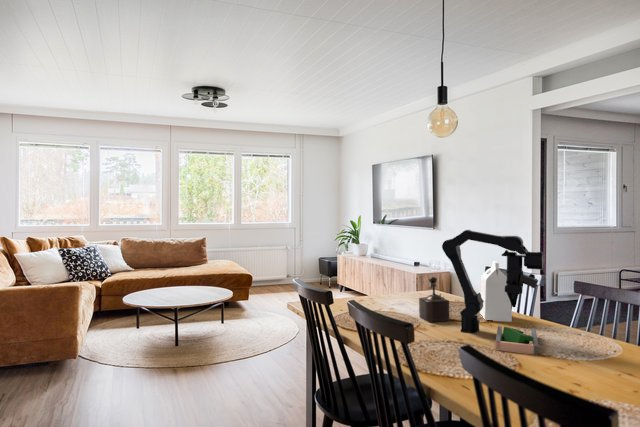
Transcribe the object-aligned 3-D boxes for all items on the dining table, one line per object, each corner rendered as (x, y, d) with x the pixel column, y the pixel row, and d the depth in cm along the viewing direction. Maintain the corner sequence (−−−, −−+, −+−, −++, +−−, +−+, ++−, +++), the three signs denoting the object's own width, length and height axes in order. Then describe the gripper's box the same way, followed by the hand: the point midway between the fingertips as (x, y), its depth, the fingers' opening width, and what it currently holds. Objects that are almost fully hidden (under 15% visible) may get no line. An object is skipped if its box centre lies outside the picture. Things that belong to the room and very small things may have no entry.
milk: (511, 321, 204) (512, 263, 204) (484, 320, 206) (485, 263, 206) (505, 315, 216) (505, 260, 216) (479, 314, 218) (480, 260, 217)
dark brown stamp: (451, 321, 205) (451, 281, 205) (429, 322, 203) (429, 282, 202) (434, 313, 221) (435, 276, 220) (413, 314, 218) (413, 277, 218)
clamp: (526, 360, 166) (537, 341, 162) (511, 357, 165) (522, 337, 162) (513, 339, 177) (523, 320, 173) (499, 336, 176) (509, 317, 173)
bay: (495, 349, 165) (495, 341, 165) (497, 332, 186) (497, 325, 186) (538, 354, 159) (538, 346, 159) (535, 336, 181) (535, 329, 181)
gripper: (537, 272, 169) (536, 314, 169) (536, 266, 186) (536, 304, 186) (504, 270, 173) (504, 311, 174) (507, 264, 190) (506, 301, 191)
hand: (513, 307), depth 181 cm, fingers closed
